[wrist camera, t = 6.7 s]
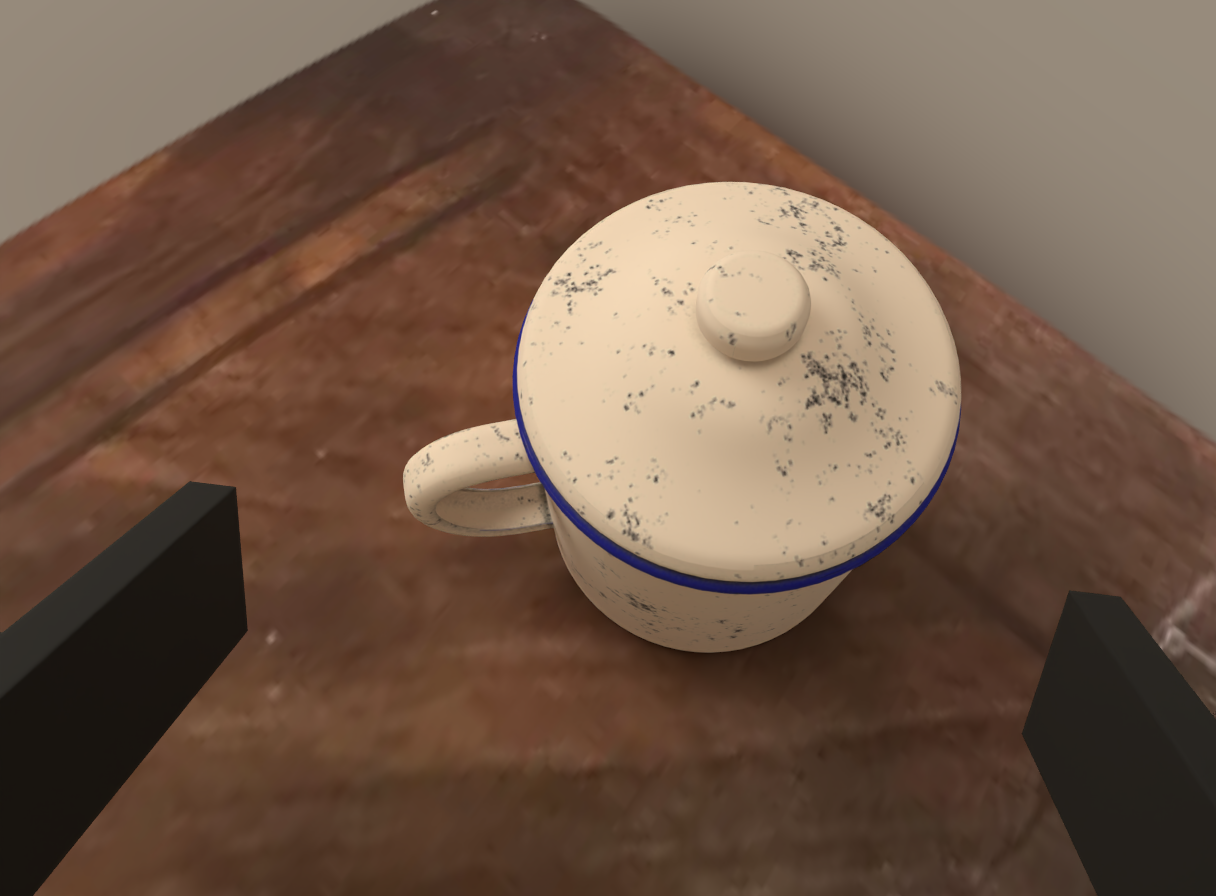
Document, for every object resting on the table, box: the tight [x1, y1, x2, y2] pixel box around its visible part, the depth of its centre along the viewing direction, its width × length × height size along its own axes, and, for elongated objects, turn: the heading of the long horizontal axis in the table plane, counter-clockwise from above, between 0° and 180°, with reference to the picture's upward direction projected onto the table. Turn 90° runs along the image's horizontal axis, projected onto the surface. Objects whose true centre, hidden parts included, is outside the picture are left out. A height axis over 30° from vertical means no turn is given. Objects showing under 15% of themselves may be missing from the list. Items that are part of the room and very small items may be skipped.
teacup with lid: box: [403, 182, 961, 653], centre depth 21 cm, size 12×9×12 cm
